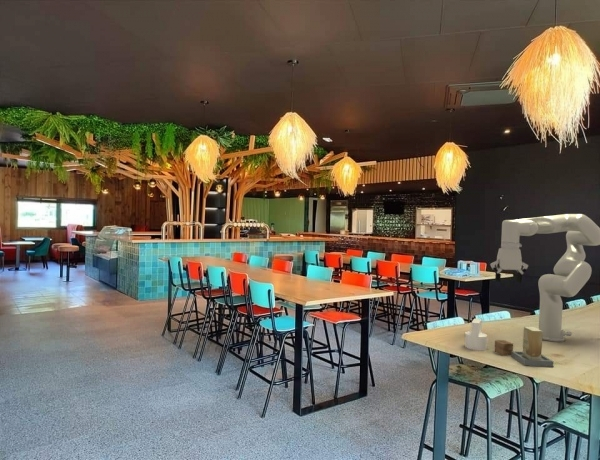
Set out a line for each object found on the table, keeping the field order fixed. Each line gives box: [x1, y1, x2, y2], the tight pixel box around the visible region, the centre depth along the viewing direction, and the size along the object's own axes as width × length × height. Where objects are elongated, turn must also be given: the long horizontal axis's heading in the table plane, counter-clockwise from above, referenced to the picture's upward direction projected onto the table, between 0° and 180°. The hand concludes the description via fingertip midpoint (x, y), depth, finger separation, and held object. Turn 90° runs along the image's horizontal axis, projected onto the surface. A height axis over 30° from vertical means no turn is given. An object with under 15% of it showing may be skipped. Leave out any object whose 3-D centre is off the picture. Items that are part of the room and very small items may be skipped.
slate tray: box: [510, 350, 554, 368], centre depth 162 cm, size 11×11×2 cm
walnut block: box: [493, 339, 514, 357], centre depth 171 cm, size 5×5×5 cm
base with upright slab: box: [464, 318, 488, 351], centre depth 179 cm, size 9×9×12 cm
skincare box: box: [521, 326, 543, 360], centre depth 162 cm, size 6×4×12 cm
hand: (508, 281), depth 189 cm, fingers open, 9 cm apart
